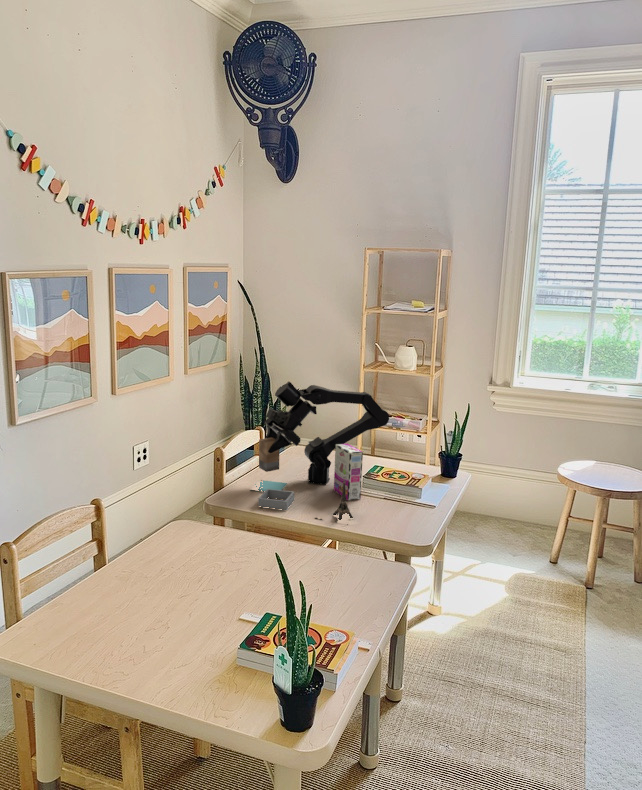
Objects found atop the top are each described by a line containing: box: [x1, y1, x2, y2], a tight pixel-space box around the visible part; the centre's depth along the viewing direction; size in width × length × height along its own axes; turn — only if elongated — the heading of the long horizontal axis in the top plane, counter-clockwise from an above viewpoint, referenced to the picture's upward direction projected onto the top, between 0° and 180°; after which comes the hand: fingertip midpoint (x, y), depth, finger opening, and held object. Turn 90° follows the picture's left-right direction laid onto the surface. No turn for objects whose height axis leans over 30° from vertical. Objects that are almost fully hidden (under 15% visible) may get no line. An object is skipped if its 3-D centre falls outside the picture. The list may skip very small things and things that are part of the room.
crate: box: [257, 489, 296, 511], centre depth 209 cm, size 9×9×3 cm
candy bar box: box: [333, 442, 364, 502], centre depth 218 cm, size 11×5×16 cm, turn 25°
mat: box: [254, 479, 288, 491], centre depth 225 cm, size 10×10×1 cm
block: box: [258, 437, 280, 473], centre depth 222 cm, size 5×5×10 cm
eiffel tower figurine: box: [332, 477, 354, 520], centre depth 199 cm, size 15×10×13 cm
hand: (265, 450), depth 221 cm, fingers closed on block, 5 cm apart
